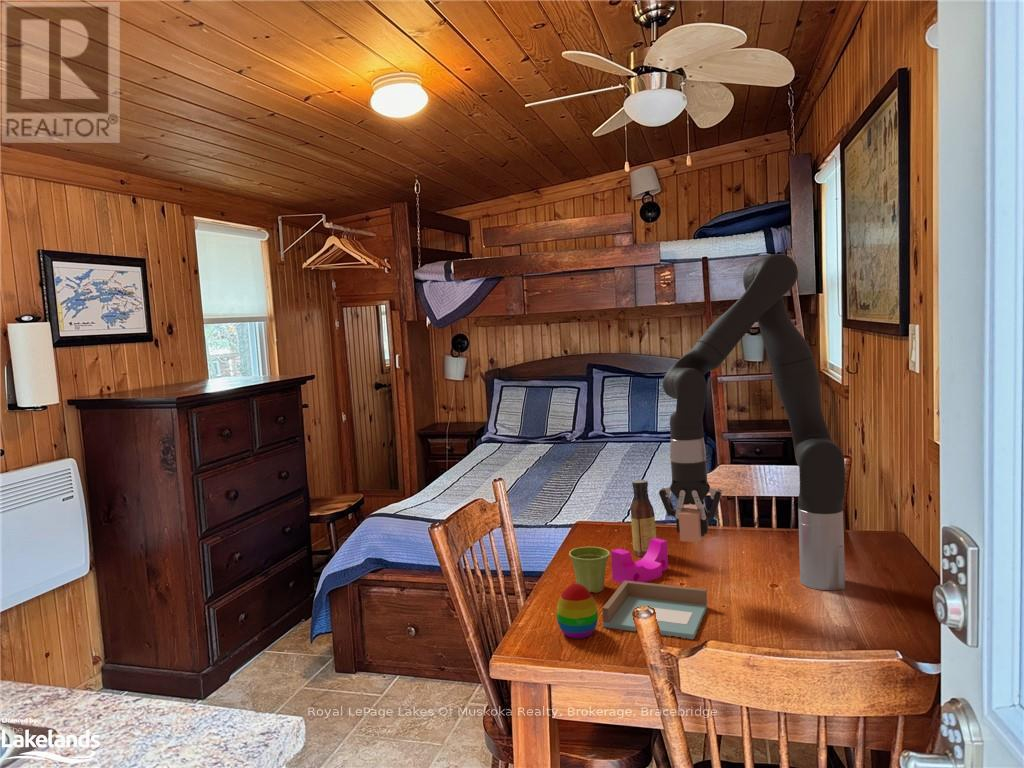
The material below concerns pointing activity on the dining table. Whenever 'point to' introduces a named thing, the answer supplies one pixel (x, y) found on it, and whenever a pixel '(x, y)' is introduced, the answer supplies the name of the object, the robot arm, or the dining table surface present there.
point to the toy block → (640, 563)
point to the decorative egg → (577, 612)
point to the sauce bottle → (642, 518)
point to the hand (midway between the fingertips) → (692, 534)
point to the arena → (657, 607)
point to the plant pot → (590, 567)
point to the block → (690, 524)
